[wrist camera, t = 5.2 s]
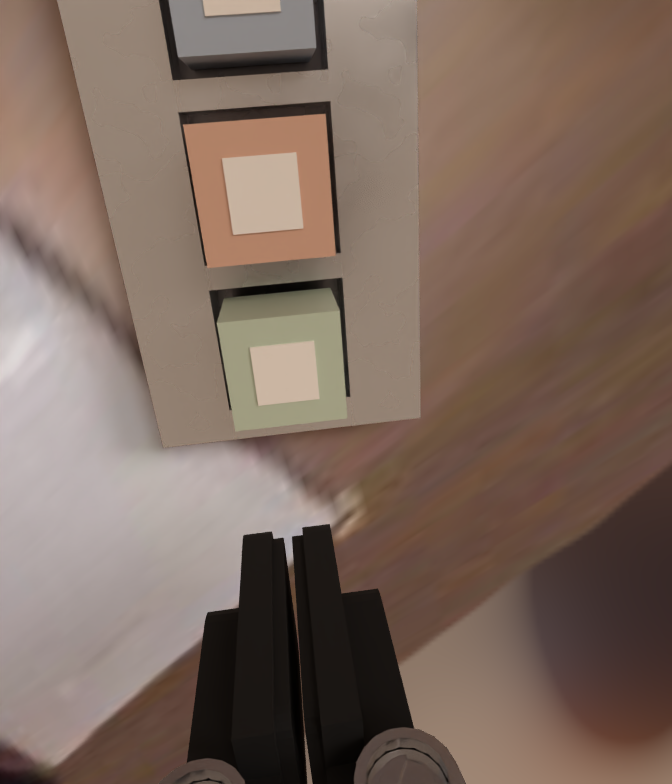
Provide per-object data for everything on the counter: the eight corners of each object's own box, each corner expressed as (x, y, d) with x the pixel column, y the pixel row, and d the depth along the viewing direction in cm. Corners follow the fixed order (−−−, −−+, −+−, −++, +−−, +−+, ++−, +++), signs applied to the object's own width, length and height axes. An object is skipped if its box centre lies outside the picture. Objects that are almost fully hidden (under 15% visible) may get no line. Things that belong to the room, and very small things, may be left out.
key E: (330, 287, 23) (340, 311, 20) (337, 383, 25) (347, 419, 22) (223, 298, 23) (216, 323, 20) (239, 394, 25) (235, 432, 22)
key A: (316, 117, 21) (325, 113, 17) (326, 239, 23) (336, 256, 19) (196, 127, 20) (182, 124, 17) (216, 250, 22) (207, 268, 19)
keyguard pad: (389, -432, 17) (412, -542, 14) (406, 391, 29) (420, 417, 26) (-15, -430, 16) (-73, -545, 13) (173, 418, 28) (163, 447, 25)
